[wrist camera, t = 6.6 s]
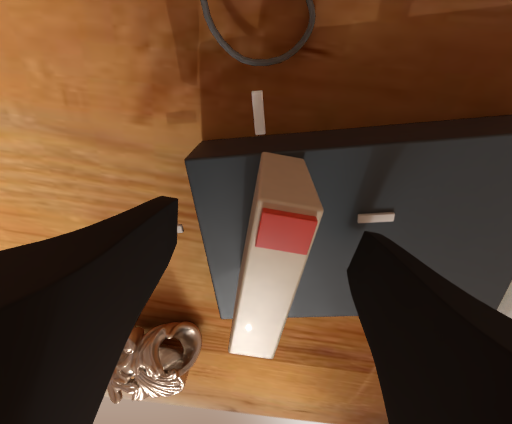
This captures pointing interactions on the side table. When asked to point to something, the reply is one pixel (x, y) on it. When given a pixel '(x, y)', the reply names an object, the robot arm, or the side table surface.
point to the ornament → (155, 362)
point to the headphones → (259, 61)
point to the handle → (273, 253)
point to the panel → (369, 203)
